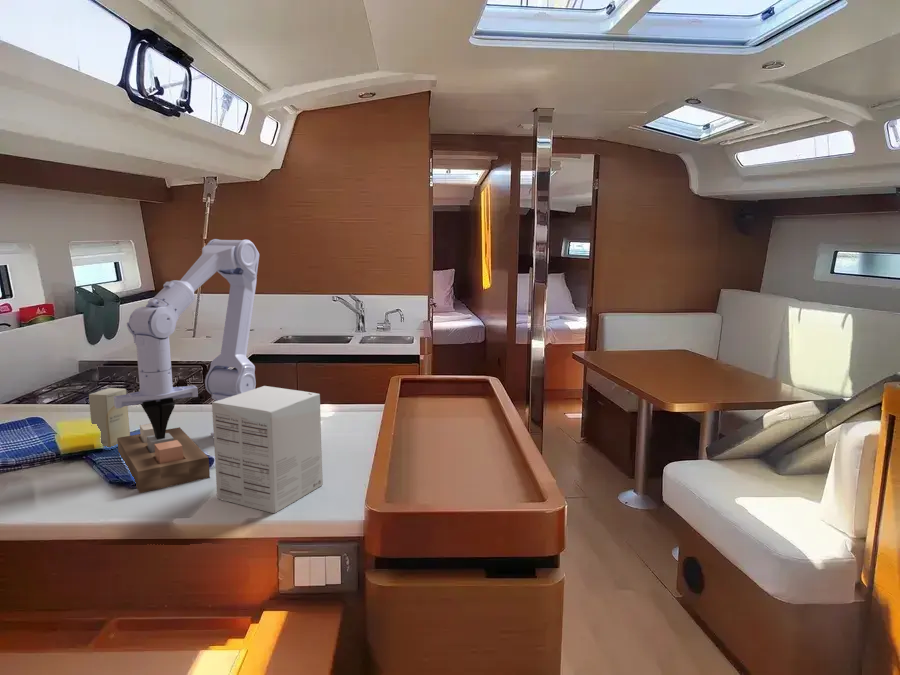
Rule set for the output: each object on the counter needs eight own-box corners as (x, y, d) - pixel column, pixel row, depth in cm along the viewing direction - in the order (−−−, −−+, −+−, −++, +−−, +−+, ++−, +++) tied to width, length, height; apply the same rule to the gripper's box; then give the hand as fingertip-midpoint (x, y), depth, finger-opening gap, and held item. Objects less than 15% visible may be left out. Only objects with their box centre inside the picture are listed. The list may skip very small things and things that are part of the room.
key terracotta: (178, 457, 117) (177, 439, 116) (183, 463, 114) (182, 445, 113) (155, 461, 115) (154, 444, 114) (160, 468, 111) (159, 450, 111)
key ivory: (162, 437, 128) (160, 421, 127) (166, 443, 125) (165, 426, 124) (141, 441, 126) (139, 425, 125) (144, 446, 122) (143, 430, 122)
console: (180, 445, 132) (179, 427, 132) (209, 477, 115) (208, 457, 114) (118, 456, 125) (117, 437, 125) (139, 493, 108) (137, 471, 107)
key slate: (169, 449, 123) (168, 432, 122) (174, 455, 119) (173, 438, 119) (148, 453, 120) (146, 436, 120) (152, 459, 117) (151, 442, 116)
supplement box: (268, 473, 118) (264, 384, 115) (324, 485, 112) (321, 392, 109) (215, 499, 106) (209, 401, 103) (274, 514, 100) (270, 411, 97)
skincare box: (110, 451, 128) (105, 395, 126) (92, 450, 129) (87, 394, 127) (131, 441, 134) (127, 388, 132) (114, 440, 135) (109, 386, 133)
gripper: (189, 361, 124) (193, 425, 127) (108, 370, 116) (114, 439, 118) (199, 367, 119) (203, 434, 121) (115, 377, 110) (121, 449, 112)
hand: (160, 437), depth 119 cm, fingers closed, pressing on key slate
